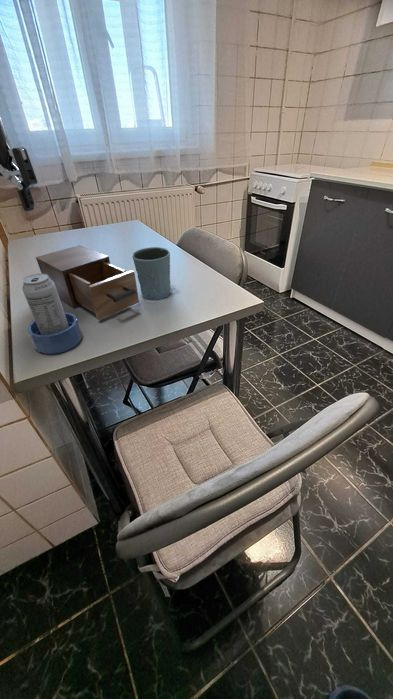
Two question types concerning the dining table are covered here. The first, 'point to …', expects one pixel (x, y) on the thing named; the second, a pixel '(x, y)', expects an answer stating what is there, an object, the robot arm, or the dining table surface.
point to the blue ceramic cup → (153, 272)
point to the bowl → (56, 337)
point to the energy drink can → (45, 304)
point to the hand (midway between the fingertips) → (10, 209)
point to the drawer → (103, 288)
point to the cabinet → (68, 268)
